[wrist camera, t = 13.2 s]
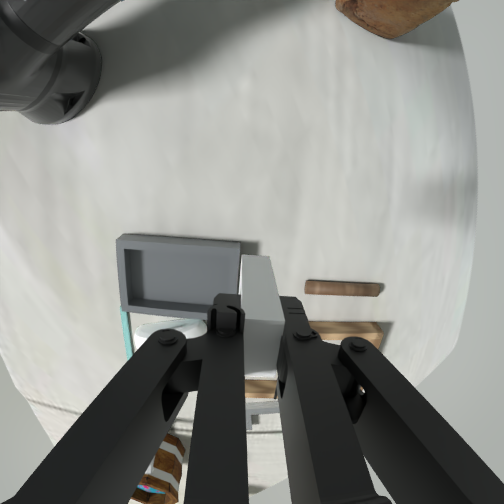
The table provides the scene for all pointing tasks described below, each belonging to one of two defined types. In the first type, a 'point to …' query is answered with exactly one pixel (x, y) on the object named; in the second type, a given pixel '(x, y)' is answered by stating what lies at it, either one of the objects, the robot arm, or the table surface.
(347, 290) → the walnut dowel
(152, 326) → the computer mouse
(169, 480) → the mug
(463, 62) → the table surface
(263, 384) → the wooden u-shaped frame
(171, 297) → the grey tray
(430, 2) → the block
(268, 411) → the grey l-shaped bar
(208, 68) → the table surface
